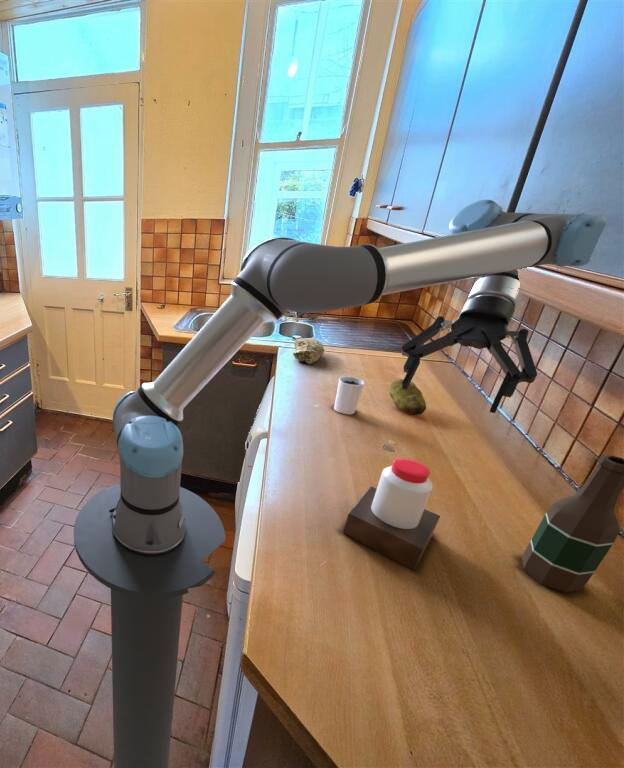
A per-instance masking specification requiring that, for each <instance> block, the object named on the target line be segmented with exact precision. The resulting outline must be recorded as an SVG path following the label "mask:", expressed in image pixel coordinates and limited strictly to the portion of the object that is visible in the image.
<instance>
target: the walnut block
mask: <svg viewBox="0 0 624 768" xmlns="http://www.w3.org/2000/svg"><path fill="white" fill-rule="evenodd" d="M376 490H377V487H374V486H372V485H371V486H370V487H369V488H367V490H366V492H365V493H364V494H363V495H362V496H361V497H360V499H359V500H358V501H357V502H356V504H355V505H354V506H353V507H352V508H351V510H350V511H349V512H348V514H347V517H346V521H345V524H344V528H343V531H342V534H344V535H346V536H348V537H350V538H352V539H354V540H356V541H358V542H360V543H362V544H363V545H365V546H367V547H369V548H371V549H373V550H375V551H377V552H379V553H381V554H383V555H385V556H387V557H388V558H390V559H392V560H394V561H396V562H398V563H399V564H402V565H403V566H406V567H407V568H409V569H412V570H414V571H415V570H416V568H417V566H418V564H419V562H420V560H421V559H422V556H423V554H424V552H425V550H426V549H427V547H428V545H429V543H430V541H431V538H432V537H433V535H434V533H435V530H436V528H437V526H438V523H439V520H440V519H441V515H439V514H437V513H435V512H432V511H430V510H427V509H425V510H424V512H423V515H422V517H421V520H420V522H419V525H418V526H417V527H415V528H412V529H402V528H397V527H394V526H391V525H389V524H387V523H385V522H383V521H382V520H380V519H379V518H378V517H376V515H375V514H374V513H373V512H372V509H371V505H372V502H373V499H374V496H375V493H376Z"/></svg>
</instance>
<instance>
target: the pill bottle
mask: <svg viewBox="0 0 624 768" xmlns="http://www.w3.org/2000/svg"><path fill="white" fill-rule="evenodd" d="M430 474H431V471H430V469H429V468H428V467H427V466H426V465H425V464H423V463H421V462H420V461H417V460H414V459H410V458H406V457H405V458H404V457H399V458H398V457H397V458H396V459H394V460H393V462H392V465H388V466H387V467H385V468H383V470H382V472H381V475H380V477H379V480H378V483H377V487H376V489H377V490H376V493H375V496H374V499H373V502H372V505H371V509H372V512H373V513H374V514H375V515H376V517H378V518H379V519H380V520H382V521H383V522H385V523H387V524H389V525H391V526H394V527H397V528H402V529H412V528H415V527H417V526H418V525H419V522H420V520H421V517H422V515H423V512H424V510H426V508H427V507H426V506H427V504H428V502H429V500H430V497H431V494H432V492H433V489H434V484H433V482H432V481H431V479H430V478H429V477H430Z"/></svg>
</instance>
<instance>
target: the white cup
mask: <svg viewBox="0 0 624 768" xmlns="http://www.w3.org/2000/svg"><path fill="white" fill-rule="evenodd" d="M364 386H365V381H364V380H362V379H361V378H359V377H355V376H349V375H348V376H347V375H345V376H344V375H343V376H340V377H339V378H338V385H337V390H336V396H335V401H334V405H333V409H334V411H336V412H337V413H340V414H343V415H353V414H355V413H356V409H357V406H358V403H359V400H360V398H361V394H362V392H363V389H364Z"/></svg>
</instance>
